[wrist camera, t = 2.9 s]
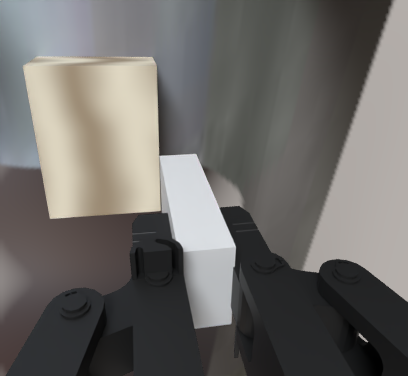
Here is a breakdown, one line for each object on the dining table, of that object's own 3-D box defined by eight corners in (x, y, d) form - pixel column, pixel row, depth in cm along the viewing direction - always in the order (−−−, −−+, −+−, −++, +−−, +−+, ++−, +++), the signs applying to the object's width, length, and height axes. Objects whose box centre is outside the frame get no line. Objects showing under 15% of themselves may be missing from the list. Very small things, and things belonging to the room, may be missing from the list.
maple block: (152, 56, 31) (156, 66, 27) (156, 185, 37) (160, 211, 32) (37, 56, 30) (22, 65, 25) (59, 191, 35) (50, 218, 31)
